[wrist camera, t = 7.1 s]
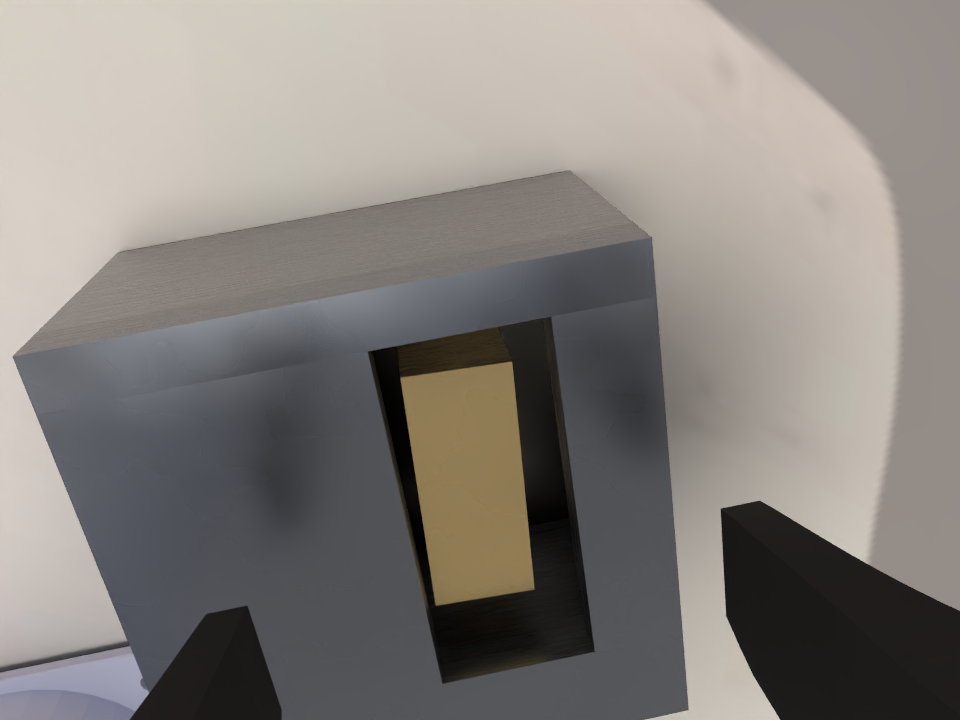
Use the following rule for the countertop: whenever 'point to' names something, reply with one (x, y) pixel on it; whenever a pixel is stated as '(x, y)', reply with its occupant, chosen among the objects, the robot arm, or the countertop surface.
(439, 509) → the block
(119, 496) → the box
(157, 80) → the countertop surface
